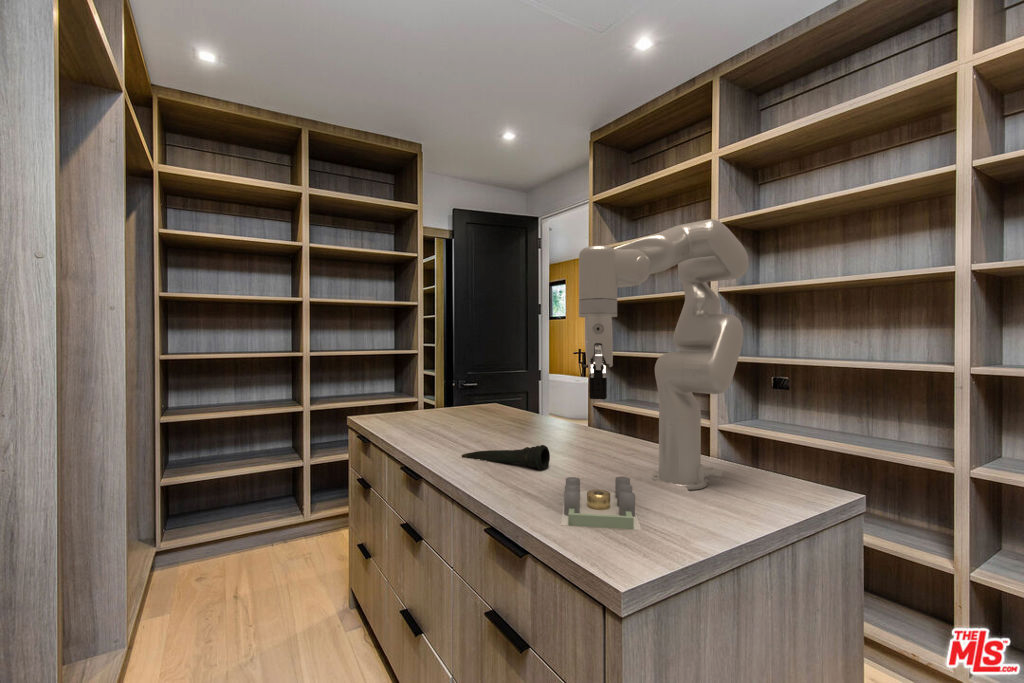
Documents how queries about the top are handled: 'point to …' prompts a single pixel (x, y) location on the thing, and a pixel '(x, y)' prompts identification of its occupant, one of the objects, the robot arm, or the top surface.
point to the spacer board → (614, 517)
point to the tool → (516, 456)
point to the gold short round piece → (598, 499)
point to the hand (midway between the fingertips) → (597, 395)
